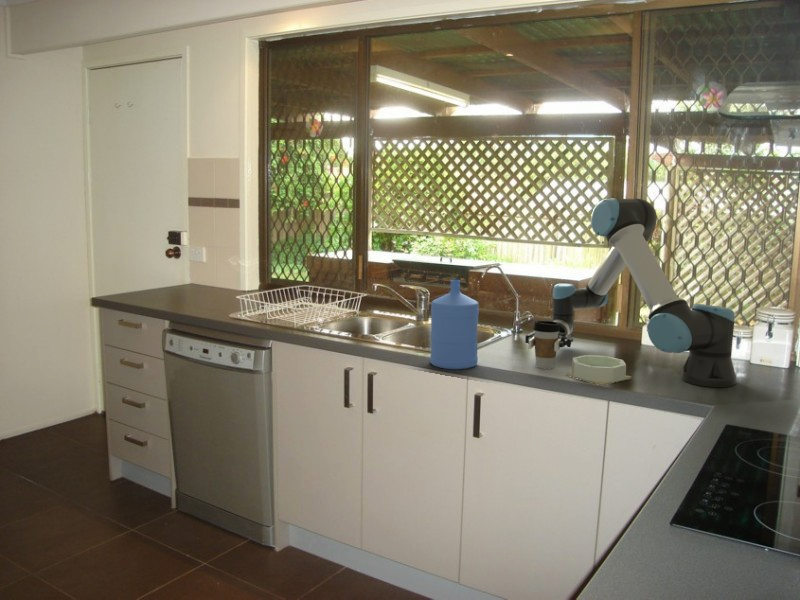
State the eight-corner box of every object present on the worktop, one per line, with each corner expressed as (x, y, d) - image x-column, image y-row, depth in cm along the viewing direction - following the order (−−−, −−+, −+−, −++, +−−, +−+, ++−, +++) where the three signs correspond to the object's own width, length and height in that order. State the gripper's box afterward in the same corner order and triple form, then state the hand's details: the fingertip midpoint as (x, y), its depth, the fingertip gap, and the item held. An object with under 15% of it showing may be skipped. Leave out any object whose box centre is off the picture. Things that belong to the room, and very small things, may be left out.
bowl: (634, 378, 209) (635, 362, 208) (602, 386, 200) (603, 370, 199) (593, 368, 221) (594, 353, 220) (562, 375, 212) (562, 359, 211)
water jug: (461, 372, 215) (463, 284, 210) (420, 364, 224) (421, 280, 220) (486, 363, 227) (488, 279, 222) (447, 355, 236) (448, 275, 232)
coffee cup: (526, 365, 224) (528, 320, 222) (546, 362, 228) (548, 318, 226) (542, 371, 217) (544, 325, 214) (563, 368, 221) (565, 322, 218)
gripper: (586, 345, 234) (574, 360, 213) (527, 340, 242) (510, 354, 221) (587, 324, 233) (575, 337, 212) (528, 319, 241) (511, 331, 220)
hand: (542, 345), depth 217 cm, fingers closed on coffee cup, 8 cm apart
